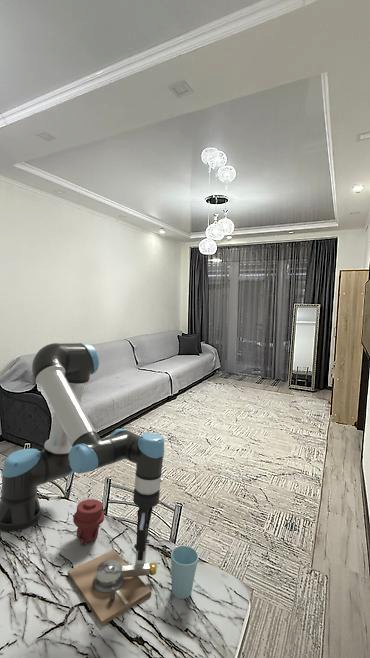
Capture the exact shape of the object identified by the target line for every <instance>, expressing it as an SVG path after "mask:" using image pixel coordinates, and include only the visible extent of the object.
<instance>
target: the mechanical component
mask: <svg viewBox="0 0 370 658" xmlns="http://www.w3.org/2000/svg"><path fill="white" fill-rule="evenodd" d="M72 518H73V519H72V522H73V524H74V525H75V526H76V527H77V529H76V537H77V539H78V540H80V545H82V546H85V545H86V544H87V543H90V541H92V540H96V539H97V538H98V535H99V528H100V525H102V523H104V520H105V512H104V510H103V502H101V500H98V499H91V498H90V499H84V500H82V501H80V502H79V503H78V504H77V505H76V511H75V512H74V514H73V517H72Z"/></svg>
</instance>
